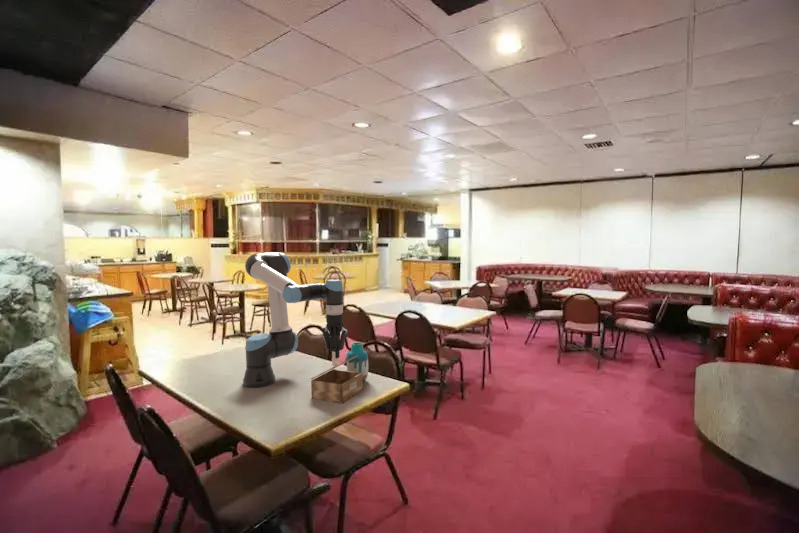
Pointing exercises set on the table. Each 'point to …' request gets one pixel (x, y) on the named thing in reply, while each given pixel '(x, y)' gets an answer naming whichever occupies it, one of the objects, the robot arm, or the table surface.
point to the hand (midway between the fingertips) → (335, 364)
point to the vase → (358, 360)
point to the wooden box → (337, 385)
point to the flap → (335, 366)
